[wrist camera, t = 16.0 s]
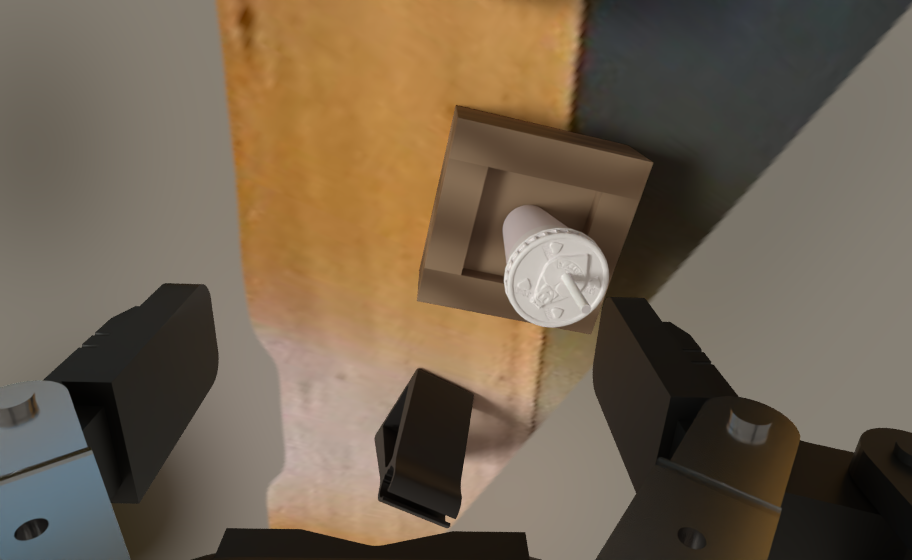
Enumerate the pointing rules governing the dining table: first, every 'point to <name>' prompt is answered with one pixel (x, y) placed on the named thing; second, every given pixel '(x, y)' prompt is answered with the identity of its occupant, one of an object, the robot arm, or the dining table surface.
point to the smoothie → (551, 269)
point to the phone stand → (425, 449)
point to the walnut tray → (521, 204)
